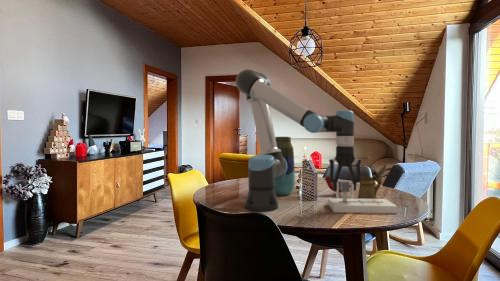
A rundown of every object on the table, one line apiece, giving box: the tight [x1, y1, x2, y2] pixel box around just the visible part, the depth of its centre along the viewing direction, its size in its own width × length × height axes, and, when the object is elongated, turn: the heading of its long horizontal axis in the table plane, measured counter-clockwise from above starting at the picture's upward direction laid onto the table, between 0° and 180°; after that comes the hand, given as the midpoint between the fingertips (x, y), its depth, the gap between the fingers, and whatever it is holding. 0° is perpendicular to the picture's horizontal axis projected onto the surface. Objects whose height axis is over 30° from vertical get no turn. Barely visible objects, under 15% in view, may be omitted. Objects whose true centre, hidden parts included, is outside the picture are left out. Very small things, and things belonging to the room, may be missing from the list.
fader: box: [339, 180, 351, 201], centre depth 141 cm, size 3×5×9 cm, turn 175°
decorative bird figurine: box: [323, 175, 358, 196], centre depth 170 cm, size 3×18×10 cm, turn 69°
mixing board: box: [327, 197, 398, 214], centre depth 141 cm, size 26×14×3 cm, turn 85°
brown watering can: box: [356, 164, 387, 199], centre depth 158 cm, size 9×14×18 cm, turn 76°
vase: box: [274, 136, 296, 196], centre depth 174 cm, size 14×14×31 cm
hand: (344, 197), depth 141 cm, fingers open, 6 cm apart
